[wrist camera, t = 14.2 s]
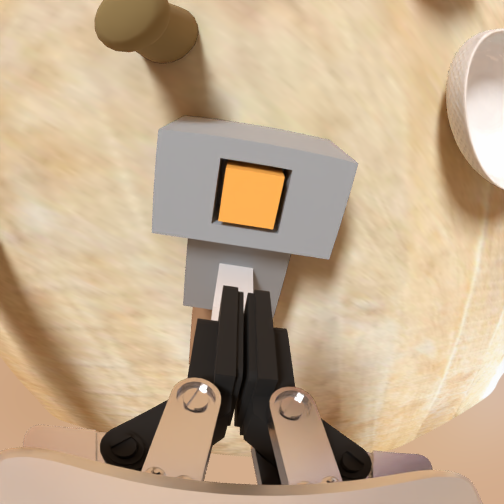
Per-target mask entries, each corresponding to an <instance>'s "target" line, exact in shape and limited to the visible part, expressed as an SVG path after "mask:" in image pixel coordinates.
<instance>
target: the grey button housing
mask: <svg viewBox="0 0 504 504" xmlns="http://www.w3.org/2000/svg"><path fill="white" fill-rule="evenodd" d="M229 159H230V160H237V161H243V162H249V163H255V164H261V165H267V166H273V167H278V168H282V171H283V174H284V177H285V178H284V183H283V187H282V192H281V196H280V201H279V205H278V210H277V214H276V219H275V223H274V228H273V229H267V228H261V227H254V226H248V225H241V224H235V223H228V222H222V221H218V219H219V212H220V205H221V198H222V191H223V185H224V178H225V171H226V166H227V163H228V160H229ZM357 166H358V163H357V162H356V161H355V160H354V159H352V158H351V157H350V156H349V155H348V154H346V153H345V152H344V151H343V150H341V149H340V148H339V147H338V146H337V145H335V144H334V143H333V142H332V141H330V140H327V139H322V138H318V137H314V136H309V135H304V134H300V133H295V132H290V131H285V130H280V129H274V128H269V127H263V126H257V125H251V124H245V123H239V122H232V121H225V120H218V119H210V118H202V117H193V116H183V117H181V118H179V119H177V120H175V121H173V122H171V123H169V124H168V125H166V126H164V127H162V128H160V129H159V131H158V141H157V152H156V165H155V179H154V196H153V218H152V233H157V234H163V235H170V236H177V237H184V238H190V239H197V240H204V241H210V242H217V243H224V244H230V245H237V246H243V247H250V248H257V249H263V250H270V251H276V252H283V253H290V254H296V255H303V256H309V257H316V258H322V259H329V258H330V255H331V252H332V249H333V246H334V243H335V240H336V237H337V234H338V230H339V227H340V224H341V221H342V218H343V214H344V211H345V208H346V204H347V201H348V198H349V194H350V191H351V188H352V184H353V181H354V177H355V173H356V170H357Z"/></svg>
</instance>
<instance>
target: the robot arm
mask: <svg viewBox="0 0 504 504" xmlns="http://www.w3.org/2000/svg"><path fill="white" fill-rule="evenodd" d="M234 409H235V418H234V425H235V426H237V427H240V435H244V440H245V441H247V442H248V443H249V444H250V445H251V453H252V458H253V463H254V469H255V474H256V478H257V483H258V485H249V484H230V483H217V482H206V481H204V478H205V474H206V470H207V466H208V462H209V458H210V454H211V450H212V446H213V445H214V444H215V443H217V442H218V441H220V440H221V439H223V438H224V437H225V433H226V429H227V426H230V424H231V420H232V416H233V413H234ZM0 504H482V501H481V498H480V496H479V494H478V491H477V489H476V488H475V486H474V484H473V483H472V482H471V481H470V480H469V479H468V478H467V477H465V476H463V475H461V474H458V473H454V472H450V471H444V470H433V469H432V465H431V463H430V461H429V460H428V459H427V458H426V457H424V456H422V455H419V454H405V453H392V452H382V451H373V452H372V453H369V452H366V451H365V450H364V449H363V448H361V447H360V446H359V445H357V444H356V443H354V442H353V441H351V440H350V439H349V438H347V437H346V436H344V435H343V434H342V433H340V432H339V431H337V430H336V429H335V428H333V427H332V426H331V425H329V424H328V423H326V422H325V421H324V420H322V419H321V417H320V414H319V411H318V409H317V406H316V403H315V401H314V399H313V397H312V396H311V395H310V394H309V393H308V392H306V391H304V390H302V389H300V388H297V387H295V383H294V375H293V368H292V361H291V353H290V346H289V339H288V333H287V330H286V329H282V328H273V319H272V308H271V298H270V292H269V291H263V290H256V289H255V290H254V292H253V293H248V294H247V299H246V304H245V309H244V292H240V291H238V287H233V286H225V285H223V290H222V297H221V303H220V310H219V317H218V321H214V320H207V319H200V318H198V319H197V324H196V330H195V336H194V342H193V348H192V354H191V360H190V366H189V372H188V378H187V379H184V380H181V381H180V382H178V383H177V384H176V385H175V386H174V388H173V389H172V391H171V394H170V396H169V399H168V400H167V401H165V402H163V403H161V404H159V405H158V406H156V407H154V408H152V409H150V410H148V411H146V412H144V413H143V414H141V415H139V416H137V417H135V418H133V419H131V420H129V421H127V422H125V423H123V424H121V425H119V426H117V427H115V428H113V429H111V430H110V431H108V432H107V433H106V432H96V430H94V429H79V428H68V427H67V428H66V427H57V426H49V425H35V426H33V427H31V428H30V429H29V430H28V431H27V432H26V434H25V437H24V443H23V447H17V448H10V449H6V450H2V451H0Z"/></svg>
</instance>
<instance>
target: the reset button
mask: <svg viewBox="0 0 504 504" xmlns="http://www.w3.org/2000/svg"><path fill="white" fill-rule="evenodd" d="M284 178H285V177H284V174H283V171H282V168H278V167H273V166H267V165H261V164H255V163H249V162H243V161H237V160H230V159H229V160H228V163H227V166H226V171H225V178H224V185H223V191H222V198H221V205H220V212H219V219H218V221H222V222H228V223H235V224H241V225H248V226H254V227H261V228H267V229H273V228H274V223H275V219H276V214H277V210H278V205H279V201H280V196H281V192H282V187H283V183H284Z"/></svg>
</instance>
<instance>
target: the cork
mask: <svg viewBox="0 0 504 504" xmlns="http://www.w3.org/2000/svg"><path fill="white" fill-rule="evenodd" d="M95 31H96V34H97V36H98V38H99V39H100V40H101V41H102V42H103V43H104V45H106V46H107V47H109V48H111V49H113V50H115V51H122V52H133V51H136V52H137V53H139V54H140V55H142V56H143V57H145V58H147V59H149V60H151V61H153V62H157V63H169V62H174V61H176V60H178V59H180V58H182V57H183V56H185V55H186V54H187V53H188V52H189V51H190V50H191V49H192V47H193V46H194V44H195V42H196V39H197V36H198V25H197V23H196V20H195V18H194V17H193V16H192V15H191V14H190V13H189V12H188V11H187V10H185V9H183V8H181V7H178V6H175V5H173V4H170V3H168V1H167V0H103V2H102V3H101V5H100V6H99V8H98V10H97V13H96V17H95Z"/></svg>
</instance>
